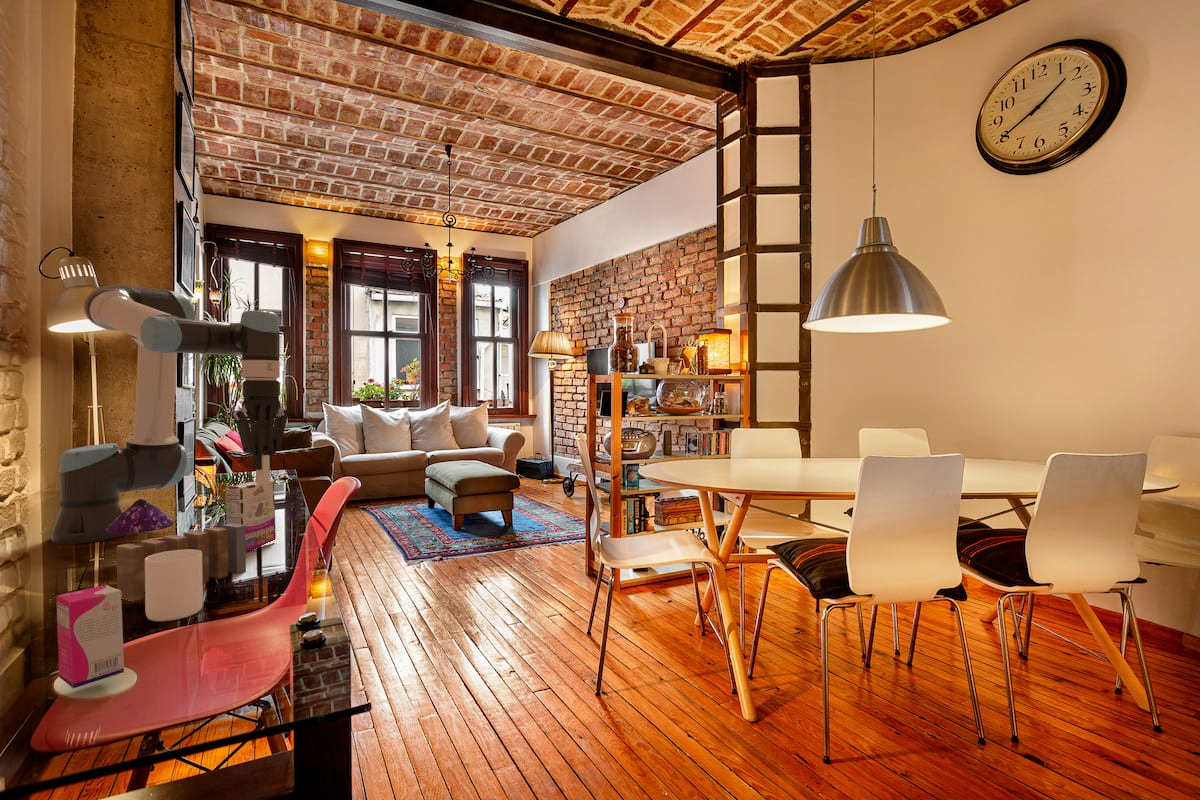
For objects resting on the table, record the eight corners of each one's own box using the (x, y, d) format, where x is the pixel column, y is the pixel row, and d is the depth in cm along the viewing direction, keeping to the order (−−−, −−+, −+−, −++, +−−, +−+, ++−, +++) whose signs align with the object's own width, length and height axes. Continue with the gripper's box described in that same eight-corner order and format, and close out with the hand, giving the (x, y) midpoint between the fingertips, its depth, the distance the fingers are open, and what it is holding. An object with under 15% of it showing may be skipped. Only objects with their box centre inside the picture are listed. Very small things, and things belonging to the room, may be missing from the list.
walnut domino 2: (155, 595, 118) (155, 543, 118) (141, 592, 120) (140, 541, 120) (167, 592, 120) (166, 541, 120) (152, 589, 122) (151, 538, 122)
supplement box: (109, 662, 89) (107, 582, 88) (125, 672, 85) (123, 590, 85) (57, 677, 84) (55, 594, 84) (71, 689, 80) (69, 602, 80)
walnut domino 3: (177, 589, 121) (177, 539, 121) (163, 586, 124) (162, 536, 124) (188, 587, 123) (187, 537, 123) (173, 583, 125) (173, 534, 125)
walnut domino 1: (132, 602, 114) (131, 548, 114) (117, 598, 117) (116, 545, 116) (144, 599, 116) (143, 546, 116) (129, 595, 118) (128, 543, 118)
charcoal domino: (237, 573, 132) (236, 527, 132) (222, 570, 134) (221, 525, 134) (245, 571, 134) (245, 525, 134) (231, 568, 136) (230, 523, 136)
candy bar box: (259, 543, 159) (258, 479, 159) (276, 543, 158) (275, 480, 158) (225, 554, 148) (224, 486, 148) (243, 555, 147) (242, 486, 147)
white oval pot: (143, 606, 112) (142, 550, 112) (197, 597, 117) (197, 543, 117) (146, 626, 102) (145, 564, 102) (205, 614, 108) (204, 555, 107)
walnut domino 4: (198, 584, 125) (198, 535, 125) (184, 581, 127) (183, 532, 127) (208, 581, 127) (208, 532, 127) (194, 578, 129) (193, 530, 129)
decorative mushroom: (133, 575, 132) (132, 504, 132) (92, 570, 136) (91, 502, 136) (188, 559, 144) (187, 495, 143) (149, 555, 147) (148, 493, 147)
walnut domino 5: (218, 578, 129) (217, 531, 128) (204, 575, 131) (203, 528, 131) (228, 576, 130) (227, 529, 130) (213, 573, 133) (212, 526, 133)
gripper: (243, 378, 132) (245, 488, 132) (298, 379, 144) (299, 480, 144) (222, 379, 136) (224, 486, 136) (276, 380, 147) (278, 479, 147)
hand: (263, 483), depth 140 cm, fingers closed
